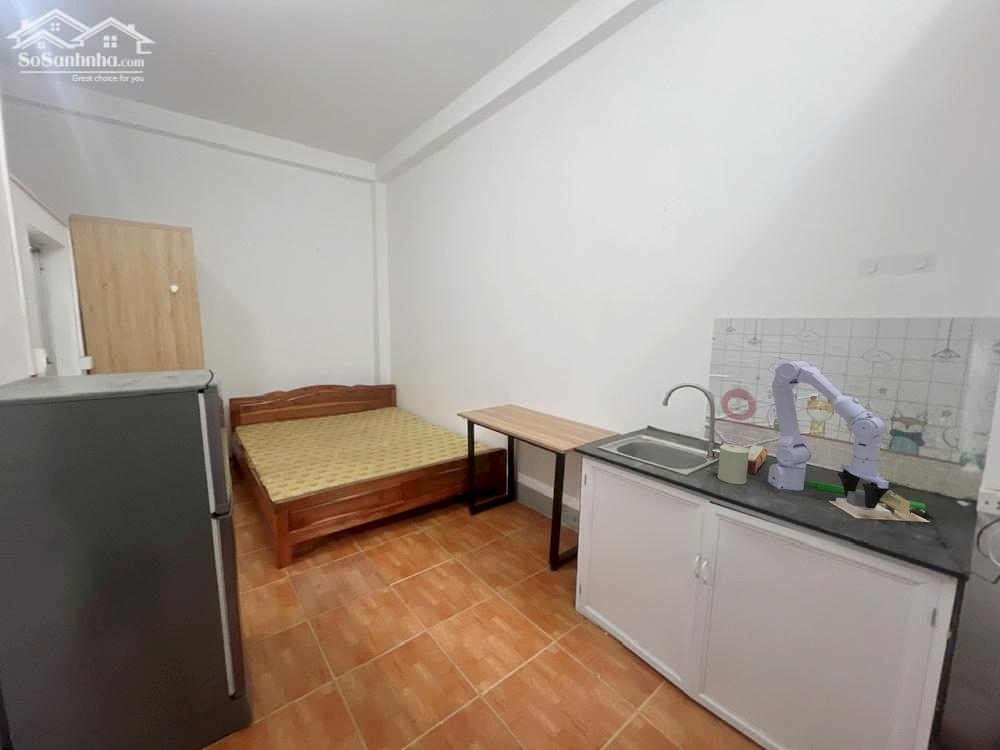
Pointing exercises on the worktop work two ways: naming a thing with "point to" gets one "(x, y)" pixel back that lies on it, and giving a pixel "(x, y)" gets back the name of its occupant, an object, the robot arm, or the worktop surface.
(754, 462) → the snack package
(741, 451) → the can
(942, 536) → the worktop surface
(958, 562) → the worktop surface
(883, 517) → the board
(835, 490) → the green onion
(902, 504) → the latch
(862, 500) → the cover
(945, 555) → the worktop surface
